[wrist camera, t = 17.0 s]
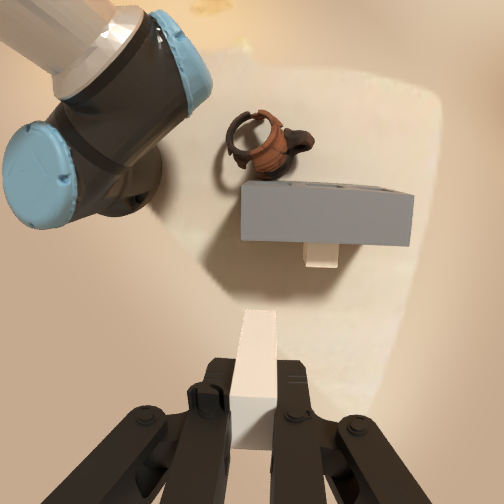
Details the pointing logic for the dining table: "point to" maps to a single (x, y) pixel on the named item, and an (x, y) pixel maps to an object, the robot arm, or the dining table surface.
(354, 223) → the console
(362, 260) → the dining table surface
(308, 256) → the ivory button
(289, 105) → the dining table surface
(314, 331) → the dining table surface
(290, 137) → the pottery mug
